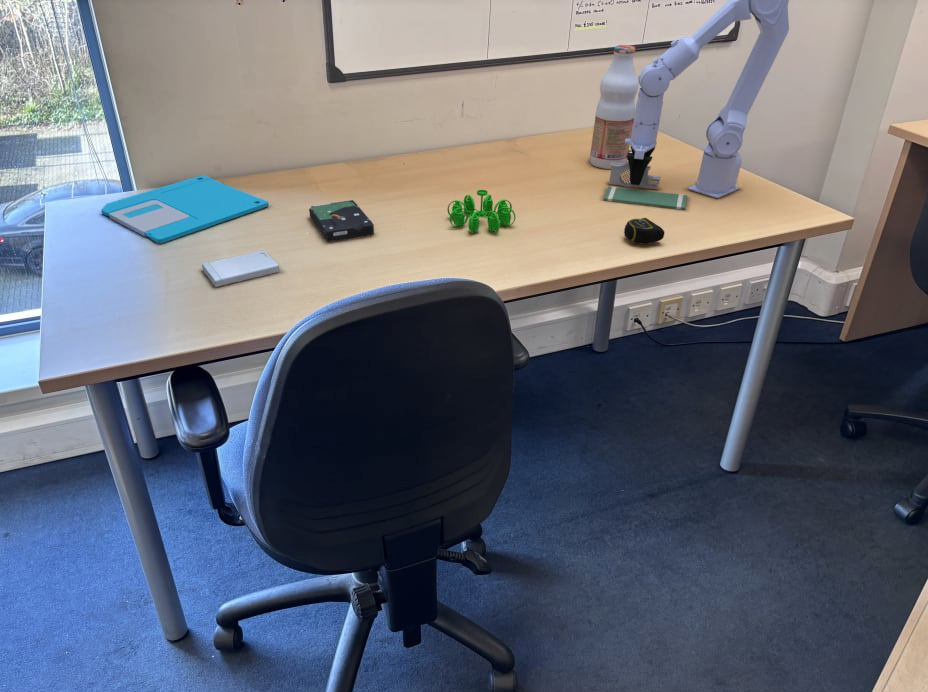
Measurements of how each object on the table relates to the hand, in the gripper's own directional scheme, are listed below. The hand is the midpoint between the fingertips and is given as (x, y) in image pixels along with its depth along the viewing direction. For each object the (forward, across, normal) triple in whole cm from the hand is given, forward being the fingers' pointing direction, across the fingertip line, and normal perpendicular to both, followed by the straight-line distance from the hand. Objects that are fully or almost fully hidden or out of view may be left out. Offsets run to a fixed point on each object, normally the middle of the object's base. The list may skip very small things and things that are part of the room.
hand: (636, 180), depth 177 cm
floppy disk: (+2, +48, -94) cm, 106 cm away
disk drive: (+2, +45, -57) cm, 73 cm away
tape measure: (+2, +31, +4) cm, 31 cm away
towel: (+2, +8, +3) cm, 8 cm away
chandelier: (+2, +33, -29) cm, 44 cm away
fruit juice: (+2, -15, -8) cm, 17 cm away
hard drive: (+2, +71, -66) cm, 97 cm away
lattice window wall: (+2, 0, 0) cm, 2 cm away
